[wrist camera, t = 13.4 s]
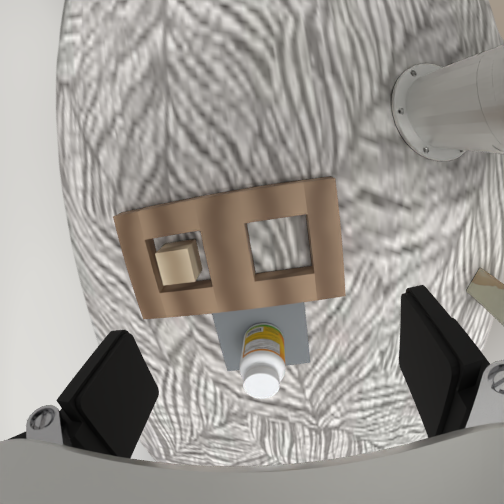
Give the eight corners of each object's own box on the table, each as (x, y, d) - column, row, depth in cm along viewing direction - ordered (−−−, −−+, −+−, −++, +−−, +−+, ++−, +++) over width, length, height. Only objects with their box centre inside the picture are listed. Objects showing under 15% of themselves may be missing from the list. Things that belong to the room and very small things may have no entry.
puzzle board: (330, 176, 34) (335, 178, 32) (341, 287, 38) (345, 295, 36) (121, 212, 37) (113, 216, 35) (149, 310, 41) (143, 319, 39)
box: (496, 279, 37) (537, 311, 26) (482, 302, 38) (520, 338, 28) (478, 266, 36) (522, 298, 26) (464, 290, 38) (504, 327, 27)
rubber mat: (303, 299, 39) (303, 301, 39) (309, 360, 42) (310, 362, 42) (212, 311, 41) (211, 312, 40) (227, 368, 44) (227, 370, 43)
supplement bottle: (274, 358, 42) (274, 407, 33) (238, 346, 42) (230, 395, 32) (290, 329, 40) (294, 377, 31) (252, 316, 40) (246, 362, 31)
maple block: (195, 238, 38) (187, 248, 34) (202, 269, 39) (195, 281, 35) (165, 243, 38) (155, 253, 34) (173, 272, 39) (163, 285, 36)
